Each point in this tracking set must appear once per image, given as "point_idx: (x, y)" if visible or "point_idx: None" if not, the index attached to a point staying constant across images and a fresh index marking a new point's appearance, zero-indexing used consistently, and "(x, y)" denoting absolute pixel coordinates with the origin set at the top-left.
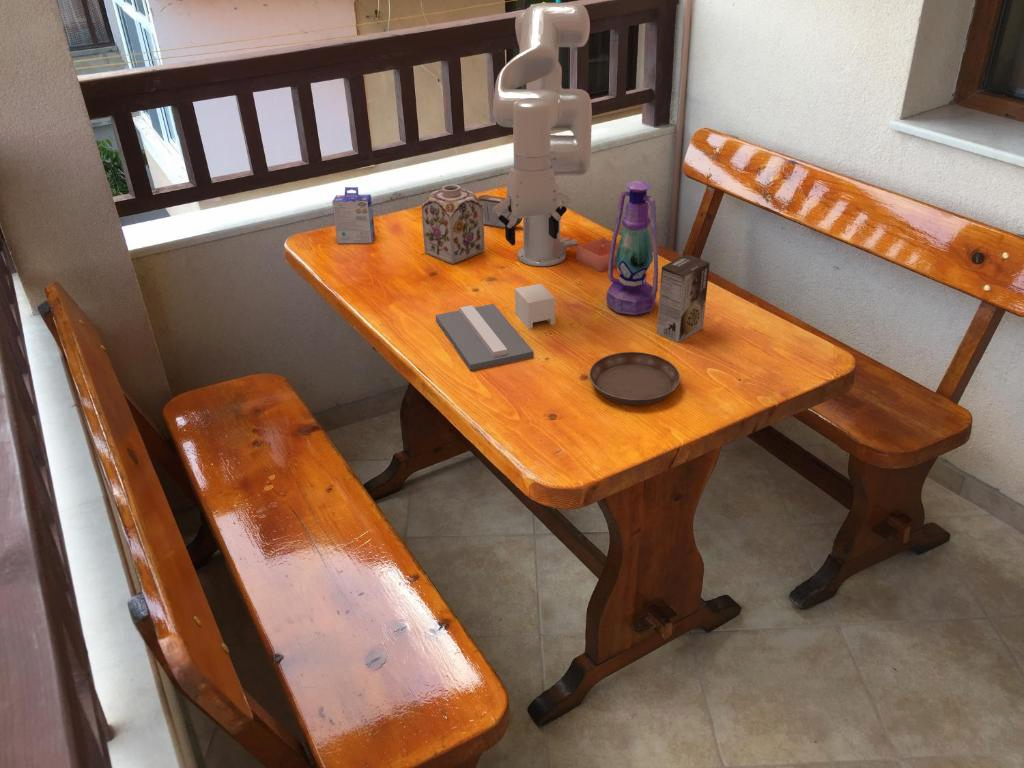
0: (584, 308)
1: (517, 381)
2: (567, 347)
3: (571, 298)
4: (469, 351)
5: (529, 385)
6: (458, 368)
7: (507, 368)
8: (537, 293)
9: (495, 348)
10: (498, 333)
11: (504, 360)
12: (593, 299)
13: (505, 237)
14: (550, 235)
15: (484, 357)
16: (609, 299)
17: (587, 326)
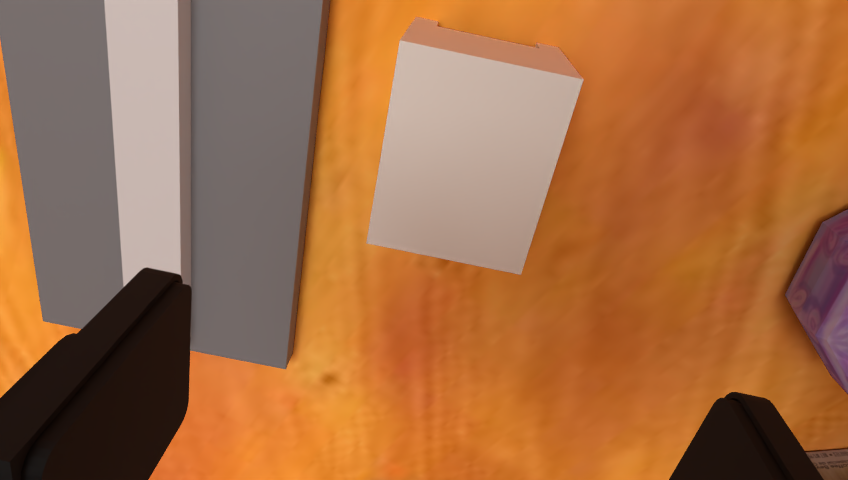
0: (726, 170)
1: (184, 419)
2: (433, 364)
3: (773, 40)
4: (61, 249)
5: (208, 449)
6: (22, 270)
7: None
8: (477, 179)
9: None
10: (221, 196)
11: None
12: (844, 119)
13: (65, 339)
14: (697, 439)
15: None
16: (828, 264)
17: (603, 297)
